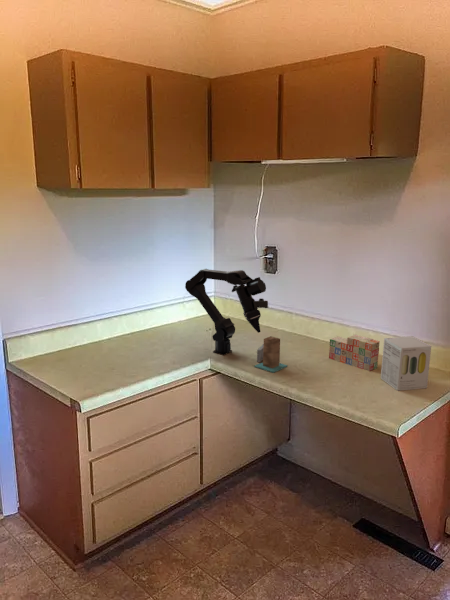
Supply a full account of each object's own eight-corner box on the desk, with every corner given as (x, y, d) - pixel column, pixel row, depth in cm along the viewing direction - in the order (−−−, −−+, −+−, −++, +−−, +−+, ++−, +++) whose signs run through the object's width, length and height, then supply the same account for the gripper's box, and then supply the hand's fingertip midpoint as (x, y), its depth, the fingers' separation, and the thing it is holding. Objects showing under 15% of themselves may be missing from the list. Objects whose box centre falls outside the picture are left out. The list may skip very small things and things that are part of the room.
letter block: (262, 365, 232) (263, 338, 229) (269, 362, 236) (270, 335, 233) (272, 368, 229) (273, 340, 226) (279, 365, 233) (280, 338, 230)
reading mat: (254, 366, 232) (254, 365, 232) (268, 361, 239) (268, 359, 239) (273, 372, 226) (273, 371, 225) (287, 366, 233) (287, 365, 233)
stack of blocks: (328, 358, 244) (329, 332, 241) (336, 355, 248) (338, 329, 245) (369, 371, 229) (371, 343, 226) (377, 368, 233) (380, 340, 230)
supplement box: (397, 391, 208) (401, 348, 204) (379, 378, 221) (383, 337, 217) (427, 388, 211) (432, 345, 207) (409, 376, 224) (413, 335, 220)
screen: (256, 361, 238) (257, 349, 237) (265, 352, 250) (265, 341, 249) (260, 362, 238) (260, 350, 237) (268, 353, 250) (268, 341, 248)
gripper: (265, 292, 229) (278, 326, 229) (260, 291, 247) (273, 323, 248) (240, 301, 229) (253, 336, 229) (238, 300, 247) (250, 332, 248)
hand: (258, 331), depth 239 cm, fingers open, 9 cm apart
